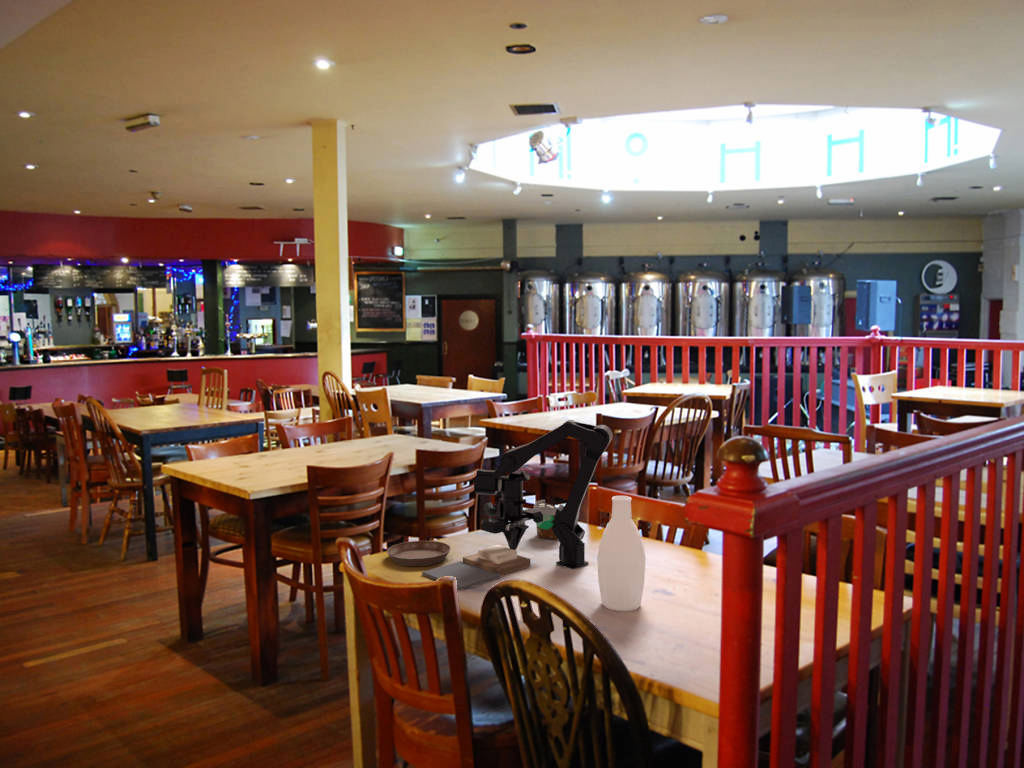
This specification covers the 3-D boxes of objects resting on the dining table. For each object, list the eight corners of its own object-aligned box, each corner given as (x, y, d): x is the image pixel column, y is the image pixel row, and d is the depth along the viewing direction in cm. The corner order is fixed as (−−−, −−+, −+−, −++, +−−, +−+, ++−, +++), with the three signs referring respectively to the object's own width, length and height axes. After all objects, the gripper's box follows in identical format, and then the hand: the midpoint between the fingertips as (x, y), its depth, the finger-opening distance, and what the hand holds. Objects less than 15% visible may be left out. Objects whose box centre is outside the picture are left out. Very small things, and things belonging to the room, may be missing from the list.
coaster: (517, 558, 214) (517, 550, 214) (498, 563, 210) (498, 556, 209) (497, 551, 220) (497, 544, 220) (478, 557, 215) (478, 550, 215)
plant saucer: (378, 555, 225) (378, 545, 225) (436, 546, 234) (436, 536, 233) (399, 573, 210) (399, 562, 210) (460, 563, 218) (460, 552, 218)
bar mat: (500, 577, 205) (500, 574, 205) (461, 589, 196) (461, 586, 196) (460, 563, 216) (460, 560, 216) (422, 574, 208) (422, 571, 207)
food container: (526, 533, 246) (526, 501, 245) (544, 530, 249) (543, 499, 248) (544, 543, 235) (544, 510, 234) (563, 540, 238) (562, 507, 237)
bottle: (613, 592, 193) (613, 490, 191) (654, 603, 186) (655, 496, 184) (588, 606, 184) (587, 498, 182) (629, 617, 177) (630, 505, 175)
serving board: (530, 566, 214) (530, 558, 214) (497, 576, 206) (497, 569, 205) (495, 555, 224) (495, 548, 224) (462, 564, 216) (462, 557, 216)
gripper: (516, 485, 230) (517, 538, 231) (467, 496, 217) (468, 552, 218) (544, 492, 222) (544, 546, 223) (494, 503, 209) (495, 561, 210)
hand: (512, 551), depth 219 cm, fingers closed
